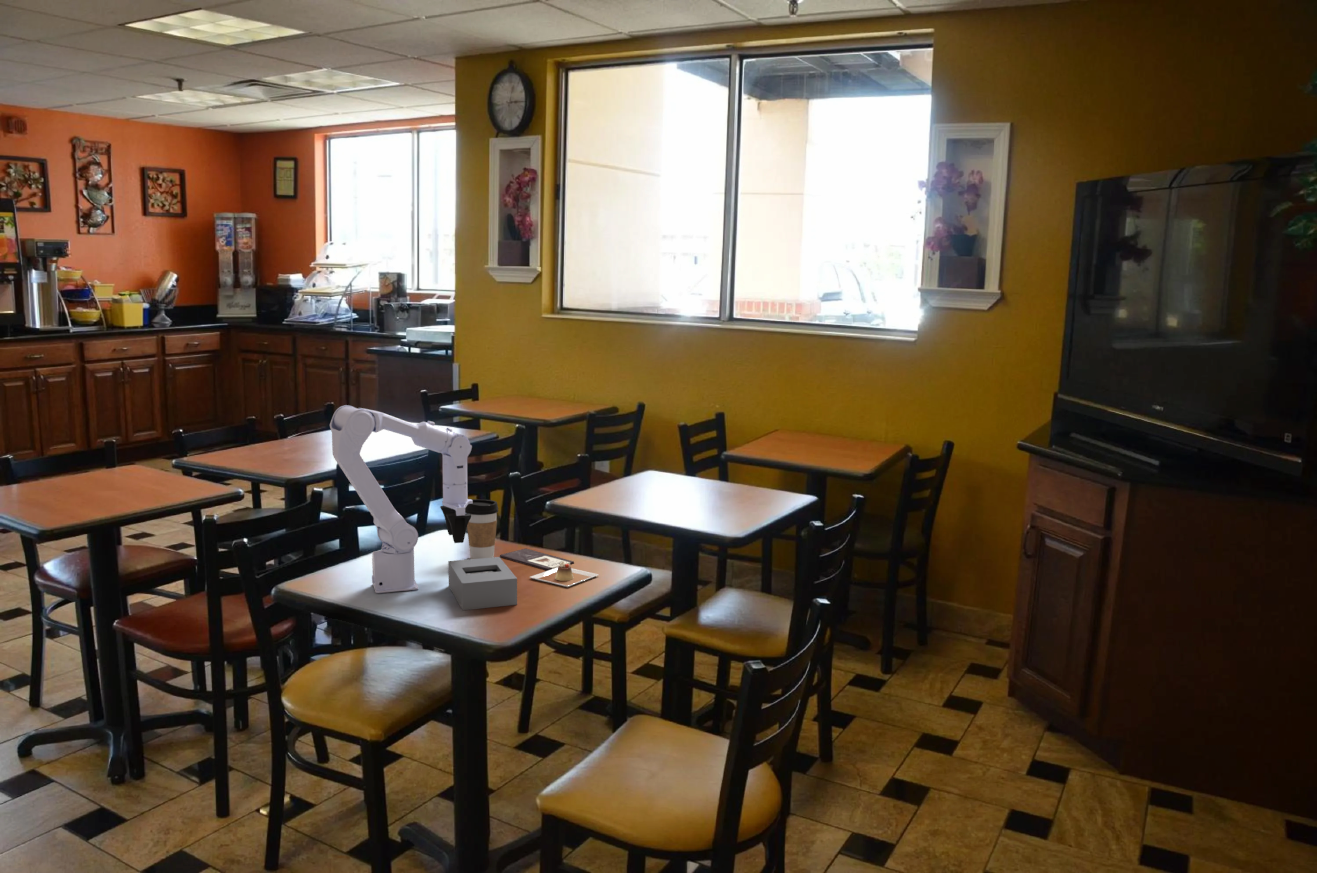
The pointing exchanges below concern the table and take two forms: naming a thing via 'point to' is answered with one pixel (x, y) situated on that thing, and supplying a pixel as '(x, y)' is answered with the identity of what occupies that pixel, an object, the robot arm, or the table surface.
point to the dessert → (563, 574)
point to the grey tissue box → (482, 583)
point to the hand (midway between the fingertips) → (455, 538)
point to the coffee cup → (482, 528)
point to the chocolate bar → (535, 559)
